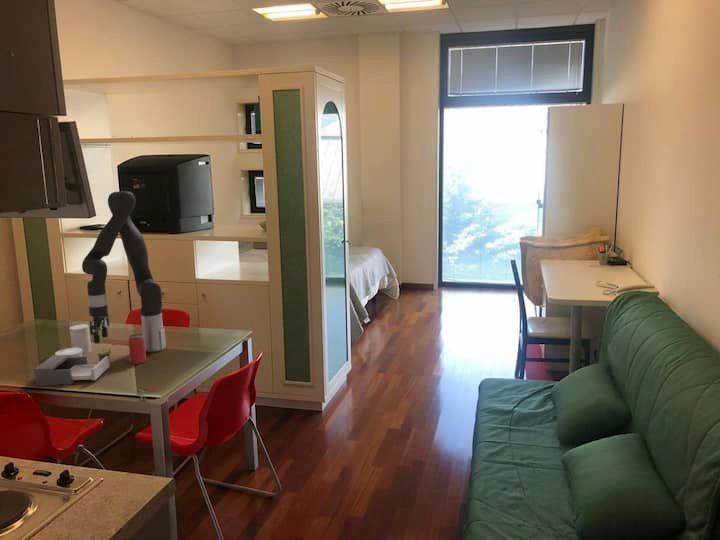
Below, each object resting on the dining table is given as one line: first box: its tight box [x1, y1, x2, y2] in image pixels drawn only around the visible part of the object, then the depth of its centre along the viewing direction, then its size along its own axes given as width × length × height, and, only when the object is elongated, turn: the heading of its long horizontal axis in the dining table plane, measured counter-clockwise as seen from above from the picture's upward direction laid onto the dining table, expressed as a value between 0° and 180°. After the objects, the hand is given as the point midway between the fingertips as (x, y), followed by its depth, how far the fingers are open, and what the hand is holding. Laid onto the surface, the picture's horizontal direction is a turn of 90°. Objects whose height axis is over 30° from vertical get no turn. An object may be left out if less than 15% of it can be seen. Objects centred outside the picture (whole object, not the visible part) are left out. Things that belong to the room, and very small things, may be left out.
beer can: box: [128, 333, 147, 365], centre depth 262 cm, size 7×7×12 cm
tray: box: [70, 356, 111, 381], centre depth 246 cm, size 14×16×5 cm
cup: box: [68, 323, 92, 355], centre depth 277 cm, size 8×8×12 cm
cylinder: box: [98, 354, 111, 365], centre depth 260 cm, size 4×4×5 cm
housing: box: [33, 354, 88, 386], centre depth 246 cm, size 14×16×7 cm
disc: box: [95, 346, 112, 357], centre depth 259 cm, size 6×6×2 cm
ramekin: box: [54, 347, 83, 357], centre depth 264 cm, size 11×11×5 cm
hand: (101, 340), depth 258 cm, fingers open, 8 cm apart
